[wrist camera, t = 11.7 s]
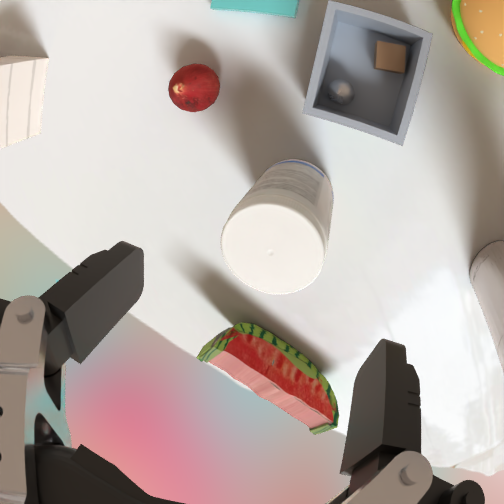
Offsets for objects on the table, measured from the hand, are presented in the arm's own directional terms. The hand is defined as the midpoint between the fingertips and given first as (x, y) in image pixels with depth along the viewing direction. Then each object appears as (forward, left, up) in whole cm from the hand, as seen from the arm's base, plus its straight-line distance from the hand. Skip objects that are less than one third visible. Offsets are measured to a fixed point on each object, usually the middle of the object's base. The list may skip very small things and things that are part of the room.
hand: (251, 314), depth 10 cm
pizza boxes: (+62, -1, -31) cm, 69 cm away
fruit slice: (-4, +37, -31) cm, 48 cm away
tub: (-2, -9, -30) cm, 32 cm away
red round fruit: (+16, -3, -31) cm, 35 cm away
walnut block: (-4, -12, -30) cm, 32 cm away
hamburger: (-15, -21, -31) cm, 40 cm away
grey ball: (0, -6, -30) cm, 30 cm away
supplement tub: (+2, +8, -31) cm, 32 cm away
